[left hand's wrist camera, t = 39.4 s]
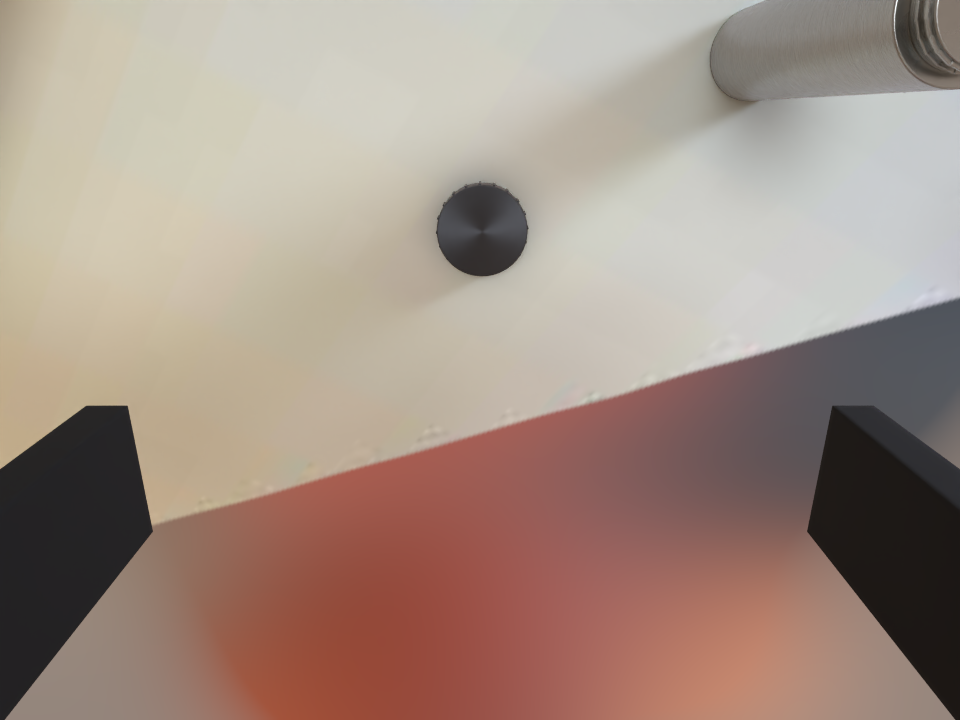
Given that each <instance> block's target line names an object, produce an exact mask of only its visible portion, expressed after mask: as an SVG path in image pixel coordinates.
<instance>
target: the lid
mask: <svg viewBox="0 0 960 720" xmlns="http://www.w3.org/2000/svg"><path fill="white" fill-rule="evenodd" d="M525 215H526V213H525V211H523V210H522V208H521V206H520V204H519V200H518V199H516V198H515V197H514V196H513V195H512V194H511V193H510V192H509V191H508V189H506V190H505V189H504V188H502V187H500V186H497V185H495V183H493V184H490V183H481V181H479V183H475V184H470V185H467V184H466V185H465V187H463V188H461V189H459V190H458V191H456V192H453V193H452V195H451V197H450V198H449V199H448V200H447V201H446V203H445V202H444V203H443V208H442V211H441V213H440V215H438V218H437V219H438V224H437V231H436V234H437V237H438V242H439V247H440V248H441V250H442V252H443V254H444V256H445V257H446V259H447V260H448V261H449V262H450V263H451V264H452V265H453V266H454V267H456V268H457V269H459V270H461V271H462V272H465V273H467V274H470V275H475V276H489V275H494V274H497V273H500V272H502V271H504V270H505V269H507V268H509V267H510V266H511V265H512V264H513V263H514V262H515V261H516V260H517V259H518V258H519V256H520V255H521V253H522V251H523V249H524V246H525V244H526V242H527V241H526V240H527V229H528V226H527V222H526V218H525Z"/></svg>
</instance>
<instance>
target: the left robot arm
mask: <svg viewBox="0 0 960 720" xmlns="http://www.w3.org/2000/svg"><path fill="white" fill-rule="evenodd" d="M152 532H153V530H152V525H151V520H150V515H149V510H148V505H147V500H146V495H145V490H144V485H143V480H142V475H141V470H140V465H139V460H138V455H137V450H136V445H135V440H134V435H133V430H132V425H131V420H130V415H129V410H128V406H85V407H84V408H83V409H81V410H80V411H79V412H77V413H76V414H75V415H73V416H72V417H71V418H69V419H68V420H66V421H65V422H64V423H62V424H61V425H60V426H58V427H57V428H56V429H54V430H53V431H52V432H50V433H49V434H47V435H46V436H45V437H43V438H42V439H41V440H39V441H38V442H37V443H35V444H34V445H33V446H31V447H30V448H28V449H27V450H26V451H24V452H23V453H22V454H20V455H19V456H18V457H16V458H15V459H13V460H12V461H11V462H9V463H8V464H7V465H5V466H4V467H3V468H1V469H0V720H5V719H6V717H7V716H8V715H9V714H10V712H11V711H12V710H13V708H14V707H15V706H16V705H17V703H18V702H19V701H20V699H21V698H22V697H23V696H24V694H25V693H26V692H27V691H28V689H29V688H30V687H31V686H32V684H33V683H34V682H35V680H36V679H37V678H38V677H39V675H40V674H41V673H42V672H43V670H44V669H45V668H46V667H47V665H48V664H49V663H50V661H51V660H52V659H53V658H54V656H55V655H56V654H57V652H58V651H59V650H60V649H61V647H62V646H63V645H64V644H65V642H66V641H67V640H68V639H69V637H70V636H71V635H72V633H73V632H74V631H75V630H76V628H77V627H78V626H79V625H80V623H81V622H82V621H83V620H84V618H85V617H86V616H87V614H88V613H89V612H90V611H91V609H92V608H93V607H94V606H95V604H96V603H97V602H98V600H99V599H100V598H101V597H102V595H103V594H104V593H105V592H106V590H107V589H108V588H109V586H110V585H111V584H112V583H113V581H114V580H115V579H116V578H117V576H118V575H119V574H120V572H121V571H122V570H123V569H124V567H125V566H126V565H127V564H128V562H129V561H130V560H131V559H132V557H133V556H134V555H135V553H136V552H137V551H138V550H139V548H140V547H141V546H142V545H143V543H144V542H145V541H146V540H147V538H148V537H149V536H150V534H151V533H152ZM807 532H808V533H809V534H810V536H811V537H812V538H813V540H814V541H815V542H816V543H817V545H818V546H819V547H820V548H821V550H822V551H823V552H824V553H825V555H826V556H827V557H828V559H829V560H830V561H831V562H832V564H833V565H834V566H835V567H836V569H837V570H838V571H839V573H840V574H841V575H842V576H843V578H844V579H845V580H846V581H847V583H848V584H849V585H850V586H851V588H852V589H853V590H854V592H855V593H856V594H857V595H858V597H859V598H860V599H861V600H862V602H863V603H864V604H865V606H866V607H867V608H868V609H869V611H870V612H871V613H872V614H873V616H874V617H875V618H876V620H877V621H878V622H879V623H880V625H881V626H882V627H883V628H884V630H885V631H886V632H887V633H888V635H889V636H890V637H891V639H892V640H893V641H894V642H895V644H896V645H897V646H898V647H899V649H900V650H901V651H902V653H903V654H904V655H905V656H906V658H907V659H908V660H909V661H910V663H911V664H912V665H913V666H914V668H915V669H916V670H917V672H918V673H919V674H920V675H921V677H922V678H923V679H924V680H925V682H926V683H927V684H928V686H929V687H930V688H931V689H932V691H933V692H934V693H935V694H936V696H937V697H938V698H939V699H940V701H941V702H942V703H943V705H944V706H945V707H946V708H947V710H948V711H949V712H950V713H951V715H952V716H953V717H954V719H955V720H960V469H959V468H957V467H956V466H955V465H953V464H952V463H951V462H949V461H948V460H947V459H945V458H944V457H942V456H941V455H940V454H938V453H937V452H936V451H934V450H933V449H932V448H930V447H929V446H927V445H926V444H925V443H923V442H922V441H921V440H919V439H918V438H917V437H915V436H914V435H913V434H911V433H910V432H908V431H907V430H906V429H904V428H903V427H902V426H900V425H899V424H898V423H896V422H895V421H893V420H892V419H891V418H889V417H888V416H887V415H885V414H884V413H883V412H881V411H880V410H879V409H877V408H876V407H875V406H832V410H831V415H830V420H829V425H828V430H827V435H826V440H825V446H824V450H823V455H822V460H821V465H820V470H819V475H818V480H817V485H816V490H815V495H814V500H813V505H812V510H811V515H810V520H809V525H808V530H807Z"/></svg>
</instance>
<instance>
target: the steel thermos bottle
mask: <svg viewBox="0 0 960 720" xmlns="http://www.w3.org/2000/svg"><path fill="white" fill-rule="evenodd" d="M710 63H711V70H712V74H713V77H714V79H715V81H716V83H717V85H718V86H719V88H720V89H721V90H722V91H723V92H724V93H726V94H727V95H729V96H730V97H732V98H735V99H738V100H742V101H756V100H774V99H792V98H810V97H828V96H846V95H864V94H882V93H900V92H918V91H936V90H953V89H960V0H765V1H763V2H760V3H758V4H755V5H753V6H750V7H748V8H745V9H743V10H741V11H739V12H737V13H736V14H734V15H733V16H732V17H730V18H729V19H728V20H727V21H726V22H725V23H724V24H723V26H722V27H721V28H720V30H719V32H718V33H717V35H716V37H715V40H714V42H713V45H712V49H711V57H710Z"/></svg>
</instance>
